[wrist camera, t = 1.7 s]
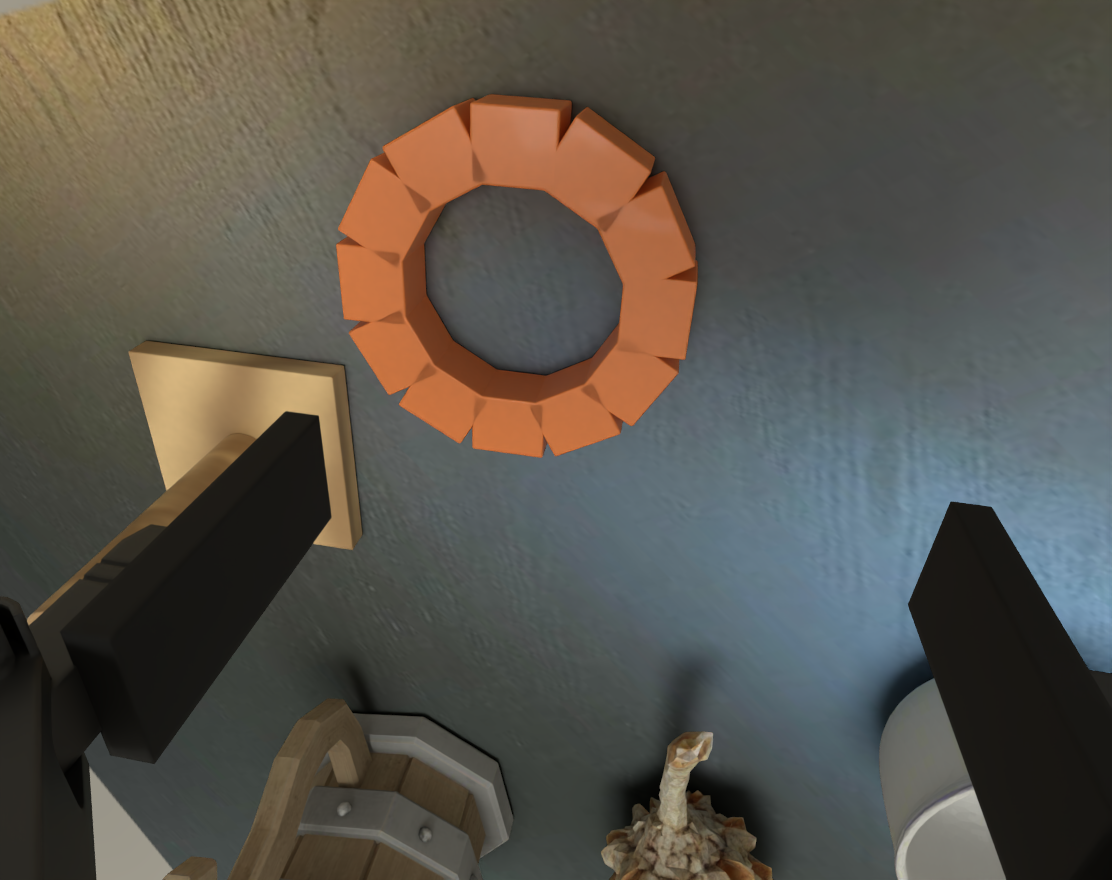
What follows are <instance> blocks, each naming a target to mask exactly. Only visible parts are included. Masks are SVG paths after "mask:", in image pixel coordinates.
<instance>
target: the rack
mask: <svg viewBox="0 0 1112 880" xmlns="http://www.w3.org/2000/svg"><path fill="white" fill-rule="evenodd" d="M129 356H130V360H131V363H132V367H133V370H134V374H135V378H136V381H137V385H138V389H139V392H140V396H141V399H142V403H143V407H144V410H145V414H146V418H147V421H148V425H149V428H150V432H151V436H152V439H153V443H154V447H155V450H156V454H157V457H158V461H159V465H160V468H161V472H162V476H163V479H164V483H165V486H166V490H167V491H166V492H165V493H164V494H163V495H162V496H160V497H159V498H158V499H157V500H156V501H155V502H154V503H153V504H152V505H151V506H150V507H148V508H147V509H146V510H145V511H144V512H143V513H142V514H141V515H140V516H139V517H137V518H136V519H135V520H134V521H133V522H132V523H131V524H130V525H129V526H128V527H126V528H125V529H124V530H123V531H122V532H121V533H120V534H119V535H118V536H117V537H115V538H114V539H113V540H112V541H111V542H110V543H109V544H108V545H107V546H106V547H105V548H103V549H102V550H101V551H100V552H99V553H98V554H97V555H96V556H95V557H94V558H92V559H91V560H90V561H89V562H88V563H87V564H86V565H85V566H84V567H83V568H81V569H80V570H79V571H78V572H77V573H76V574H75V575H74V576H73V577H72V578H70V579H69V580H68V581H67V582H66V583H65V584H64V585H63V586H62V587H61V588H60V589H58V590H57V591H56V592H55V593H54V594H53V595H52V596H51V597H50V598H49V599H47V600H46V601H45V602H44V603H43V604H42V605H41V606H40V607H39V608H38V609H36V610H35V611H34V612H33V613H32V614H31V615H30V616H29V617H28V619H27V622H28V625H30V624H31V623H32V622H33V621H34V620H36V619H37V618H38V617H39V616H40V615H41V614H42V613H43V612H44V611H45V610H46V609H47V608H49V607H50V606H51V605H52V604H53V603H54V602H55V601H56V600H57V599H58V598H59V597H60V596H62V595H63V594H64V593H65V592H66V591H67V590H68V589H69V588H70V587H71V586H72V585H73V584H75V583H76V582H77V581H78V580H79V579H83V578H84V574H85V573H87V572H88V571H89V570H90V569H91V568H92V567H93V566H94V565H95V564H96V563H100V562H101V559H102V558H103V557H104V556H105V555H106V554H107V553H108V552H109V551H110V550H111V549H113V548H114V547H115V546H116V545H117V544H118V543H119V542H120V541H121V540H122V539H124V538H126V537H128V536H130V535H132V534H133V533H135V532H137V531H139V530H141V529H143V528H145V527H147V526H148V525H150V524H154V525H160V526H166V527H167V526H168V525H169V524H170V523H171V522H172V521H173V520H174V519H175V518H176V517H177V516H178V515H180V514H181V513H182V512H183V511H184V510H185V509H186V508H187V507H188V506H189V505H190V504H191V503H192V502H193V501H194V500H195V499H196V498H197V497H198V496H199V495H200V494H201V493H202V492H203V491H204V490H205V489H206V488H207V487H208V486H209V485H210V484H211V483H212V482H213V481H214V480H215V479H216V478H217V477H218V476H220V475H221V474H222V473H223V472H224V471H225V470H226V469H227V468H228V467H229V466H230V465H231V464H232V463H233V462H234V461H235V460H236V459H237V458H238V457H239V456H240V455H241V454H242V453H243V452H244V451H245V450H246V449H247V448H248V447H249V446H250V445H251V444H252V443H253V442H254V441H255V440H256V439H257V438H258V437H260V436H261V435H262V434H263V433H264V432H265V431H266V430H267V429H268V428H269V427H270V426H271V425H272V424H273V423H274V422H275V421H276V420H277V419H278V418H279V417H280V416H281V415H282V414H283V413H284V412H285V411H289V412H296V413H304V414H311V415H318V416H319V420H320V428H321V436H322V444H323V452H324V460H325V468H326V476H327V484H328V491H329V499H330V507H331V515H332V518H331V519H330V520H329V522H328V523H327V525H326V526H325V527H324V529H323V530H322V532H321V533H320V534H319V536H318V537H317V539H316V540H315V541H314V543H313V544H318V545H324V546H331V547H337V548H343V549H350V550H353V549H354V547H355V545H356V544H357V542H358V541H359V539H360V538H361V536H362V527H361V517H360V508H359V499H358V490H357V481H356V471H355V462H354V453H353V444H352V434H351V425H350V416H349V407H348V398H347V388H346V379H345V370H344V366H342V365H334V364H326V363H318V362H311V361H303V360H295V359H287V358H279V357H271V356H263V355H255V354H247V353H239V352H232V351H224V350H216V349H208V348H200V347H192V346H184V345H176V344H168V343H160V342H153V341H145V342H143V343H142V344H140V345H138V346H137V347H135V348H133V349H132V350H130V351H129Z"/></svg>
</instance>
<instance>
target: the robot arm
mask: <svg viewBox="0 0 1112 880" xmlns="http://www.w3.org/2000/svg"><path fill="white" fill-rule="evenodd" d="M331 518H332V515H331V507H330V499H329V491H328V484H327V476H326V468H325V460H324V452H323V444H322V436H321V428H320V420H319V416H318V415H311V414H304V413H296V412H289V411H285V412H284V413H283V414H282V415H281V416H280V417H279V418H278V419H277V420H276V421H275V422H274V423H273V424H272V425H271V426H270V427H269V428H268V429H267V430H266V431H265V432H264V433H263V434H262V435H261V436H260V437H258V438H257V439H256V440H255V441H254V442H253V443H252V444H251V445H250V446H249V447H248V448H247V449H246V450H245V451H244V452H243V453H242V454H241V455H240V456H239V457H238V458H237V459H236V460H235V461H234V462H233V463H232V464H231V465H230V466H229V467H228V468H227V469H226V470H225V471H224V472H223V473H222V474H221V475H220V476H218V477H217V478H216V479H215V480H214V481H213V482H212V483H211V484H210V485H209V486H208V487H207V488H206V489H205V490H204V491H203V492H202V493H201V494H200V495H199V496H198V497H197V498H196V499H195V500H194V501H193V502H192V503H191V504H190V505H189V506H188V507H187V508H186V509H185V510H184V511H183V512H182V513H181V514H180V515H178V516H177V517H176V518H175V519H174V520H173V521H172V522H171V523H170V524H169V525H168V526H167V527H166V526H160V525H154V524H150V525H148V526H147V527H145V528H143V529H141V530H139V531H137V532H135V533H133V534H132V535H130V536H128V537H126V538H124V539H122V540H121V541H120V542H119V543H118V544H117V545H116V546H115V547H114V548H113V549H111V550H110V551H109V552H108V553H107V554H106V555H105V556H104V557H103V558H102V559H101V562H100V563H96V564H95V565H94V566H93V567H92V568H91V569H90V570H89V571H88V572H87V573H85V574H84V578H83V579H79V580H78V581H77V582H76V583H75V584H73V585H72V586H71V587H70V588H69V589H68V590H67V591H66V592H65V593H64V594H63V595H62V596H60V597H59V598H58V599H57V600H56V601H55V602H54V603H53V604H52V605H51V606H50V607H49V608H47V609H46V610H45V611H44V612H43V613H42V614H41V615H40V616H39V617H38V618H37V619H36V620H34V621H33V622H32V623H31V624H30V625H28V622H27V620H26V618H25V616H24V613H23V611H22V609H21V606H20V604H19V603H18V602H16V601H14V600H12V599H10V598H8V597H0V880H96V866H95V851H94V835H93V819H92V803H91V788H90V772H89V763H88V761H87V758H86V756H85V753H84V751H85V750H86V749H87V747H88V746H89V745H90V744H91V743H92V741H93V740H94V739H95V738H96V737H97V735H98V734H99V733H100V732H101V734H102V736H103V739H104V741H105V744H106V746H107V749H108V751H109V753H110V755H111V756H117V757H122V758H127V759H132V760H137V761H142V762H147V763H152V764H155V762H156V761H157V760H158V758H159V757H160V756H161V754H162V753H163V751H164V750H165V749H166V747H167V746H168V744H169V743H170V742H171V740H172V739H173V737H174V736H175V735H176V733H177V732H178V730H179V729H180V728H181V726H182V725H183V724H184V722H185V721H186V719H187V718H188V717H189V715H190V714H191V712H192V711H193V710H194V708H195V707H196V705H197V704H198V703H199V701H200V700H201V698H202V697H203V696H204V694H205V693H206V692H207V690H208V689H209V687H210V686H211V685H212V683H213V682H214V680H215V679H216V678H217V676H218V675H219V673H220V672H221V671H222V669H223V668H224V666H225V665H226V664H227V662H228V661H229V660H230V658H231V657H232V655H233V654H234V653H235V651H236V650H237V648H238V647H239V646H240V644H241V643H242V641H243V640H244V639H245V637H246V636H247V634H248V633H249V632H250V630H251V629H252V628H253V626H254V625H255V623H256V622H257V621H258V619H259V618H260V616H261V615H262V614H263V612H264V611H265V609H266V608H267V607H268V605H269V604H270V602H271V601H272V600H273V598H274V597H275V596H276V594H277V593H278V591H279V590H280V589H281V587H282V586H283V584H284V583H285V582H286V580H287V579H288V577H289V576H290V575H291V573H292V572H293V571H294V569H295V568H296V566H297V565H298V564H299V562H300V561H301V559H302V558H303V557H304V555H305V554H306V552H307V551H308V550H309V548H310V547H311V545H312V544H313V543H314V541H315V540H316V539H317V537H318V536H319V534H320V533H321V532H322V530H323V529H324V527H325V526H326V525H327V523H328V522H329V520H330V519H331ZM908 606H909V609H910V612H911V615H912V618H913V620H914V623H915V626H916V629H917V632H918V634H919V637H920V640H921V643H922V646H923V648H924V651H925V654H926V657H927V660H928V662H929V665H930V668H931V671H932V673H933V676H934V679H935V682H936V685H937V687H938V690H939V693H940V696H941V699H942V701H943V704H944V707H945V710H946V713H947V715H948V718H949V721H950V724H951V727H952V729H953V732H954V735H955V738H956V741H957V743H958V746H959V749H960V752H961V755H962V757H963V760H964V763H965V766H966V769H967V771H968V774H969V777H970V780H971V782H972V785H973V788H974V791H975V794H976V796H977V799H978V802H979V805H980V808H981V810H982V813H983V816H984V819H985V822H986V824H987V827H988V830H989V833H990V836H991V838H992V841H993V844H994V847H995V850H996V852H997V855H998V858H999V861H1000V864H1001V866H1002V869H1003V872H1004V875H1005V878H1006V880H1112V673H1106V672H1099V671H1093V670H1089V669H1088V668H1087V666H1086V664H1085V663H1084V661H1083V659H1082V657H1081V656H1080V654H1079V652H1078V651H1077V649H1076V647H1075V646H1074V644H1073V642H1072V641H1071V639H1070V637H1069V636H1068V634H1067V632H1066V631H1065V629H1064V627H1063V626H1062V624H1061V622H1060V621H1059V619H1058V617H1057V616H1056V614H1055V612H1054V611H1053V609H1052V607H1051V606H1050V604H1049V602H1048V601H1047V599H1046V597H1045V596H1044V594H1043V592H1042V591H1041V589H1040V587H1039V585H1038V584H1037V582H1036V580H1035V579H1034V577H1033V575H1032V574H1031V572H1030V570H1029V569H1028V567H1027V565H1026V564H1025V562H1024V560H1023V559H1022V557H1021V555H1020V554H1019V552H1018V550H1017V549H1016V547H1015V545H1014V544H1013V542H1012V540H1011V539H1010V537H1009V535H1008V534H1007V532H1006V530H1005V529H1004V527H1003V525H1002V524H1001V522H1000V520H999V519H998V517H997V515H996V513H995V512H994V510H993V508H992V507H988V506H981V505H973V504H966V503H959V502H950V504H949V507H948V509H947V512H946V514H945V517H944V519H943V521H942V524H941V526H940V529H939V531H938V533H937V536H936V538H935V541H934V543H933V545H932V548H931V550H930V553H929V555H928V558H927V560H926V562H925V565H924V567H923V570H922V572H921V574H920V577H919V579H918V582H917V584H916V586H915V589H914V591H913V594H912V596H911V598H910V601H909V603H908Z"/></svg>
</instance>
